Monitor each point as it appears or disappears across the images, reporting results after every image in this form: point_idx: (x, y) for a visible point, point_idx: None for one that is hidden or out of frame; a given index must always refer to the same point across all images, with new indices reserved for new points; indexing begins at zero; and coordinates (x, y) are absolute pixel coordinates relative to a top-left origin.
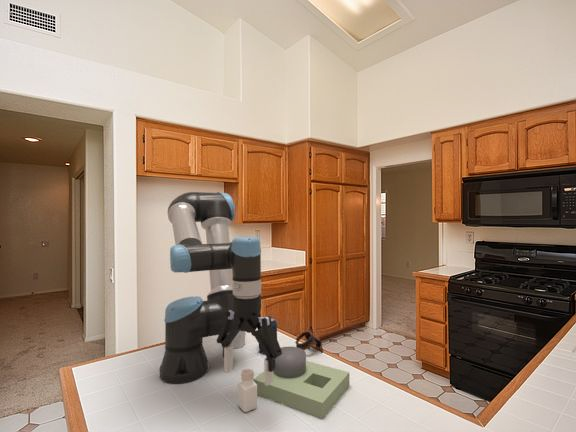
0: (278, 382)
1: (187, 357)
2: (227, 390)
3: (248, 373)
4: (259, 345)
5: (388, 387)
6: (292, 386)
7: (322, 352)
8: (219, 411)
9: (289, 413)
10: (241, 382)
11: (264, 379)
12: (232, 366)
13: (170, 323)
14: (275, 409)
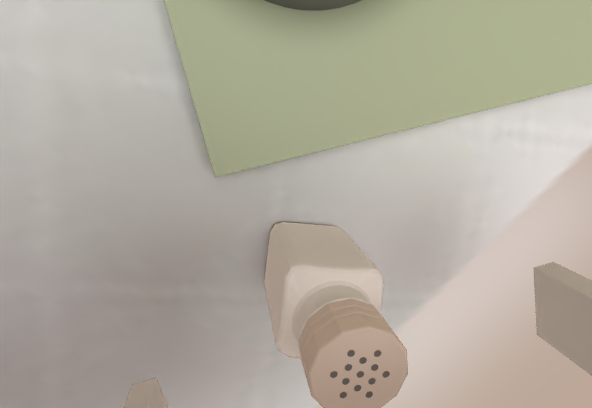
0: (380, 76)
1: None
2: (89, 253)
3: (391, 383)
4: None
5: None
6: (481, 45)
7: None
8: (235, 361)
9: (475, 144)
10: (294, 343)
11: (570, 359)
12: (155, 402)
13: None
14: (409, 170)
